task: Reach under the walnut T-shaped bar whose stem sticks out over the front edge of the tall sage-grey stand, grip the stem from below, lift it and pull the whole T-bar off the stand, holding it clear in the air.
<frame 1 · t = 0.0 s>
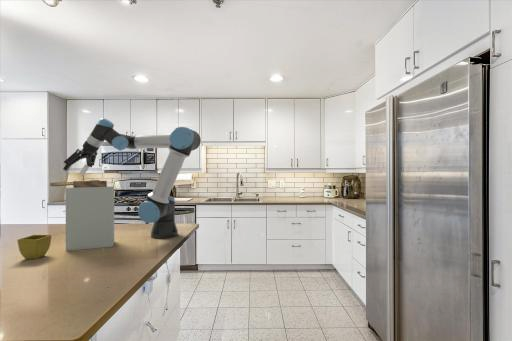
hand: (72, 174, 159), 36 cm above the countertop, tool tilted 35°, fingers open, 13 cm apart
stand: (91, 246, 143), on the countertop
T-bar: (94, 185, 153), point 30 cm above the countertop, touching stand
flower pot: (35, 257, 125), on the countertop
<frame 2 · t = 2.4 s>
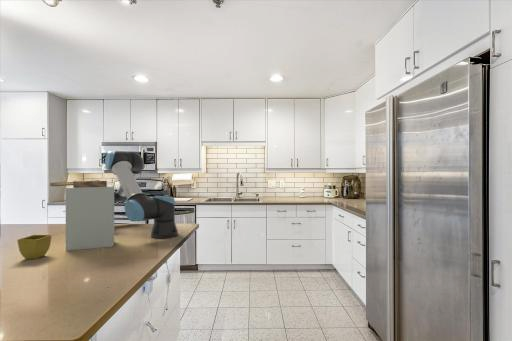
hand: (99, 190, 170), 26 cm above the countertop, tool pointing upward, fingers open, 13 cm apart
nothing on the countertop moved.
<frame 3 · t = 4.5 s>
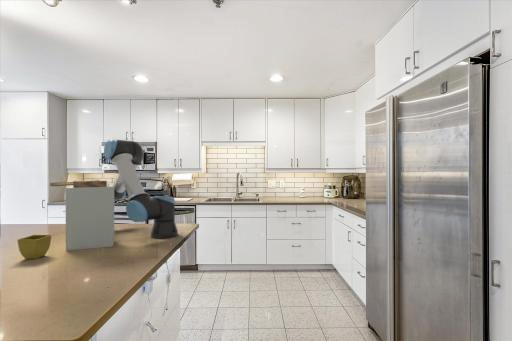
hand: (94, 186, 157), 29 cm above the countertop, tool pointing upward, fingers open, 13 cm apart
nothing on the countertop moved.
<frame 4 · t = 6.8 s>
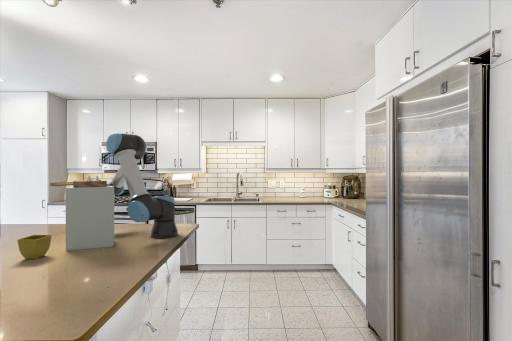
hand: (93, 178, 148), 34 cm above the countertop, tool pointing upward, fingers closed on T-bar, 3 cm apart
T-bar: (94, 185, 153), point 30 cm above the countertop, touching gripper, stand
everything else where it was.
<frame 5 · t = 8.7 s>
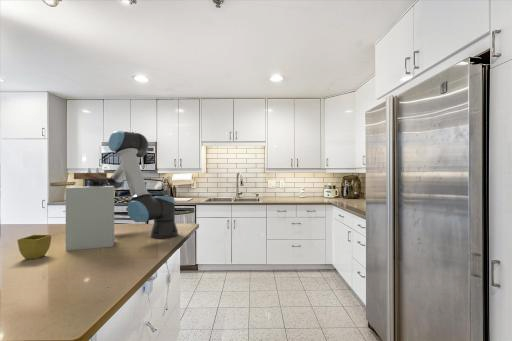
hand: (93, 170, 150), 38 cm above the countertop, tool pointing upward, fingers closed on T-bar, 3 cm apart
T-bar: (94, 178, 154), point 34 cm above the countertop, touching gripper
everything else where it was.
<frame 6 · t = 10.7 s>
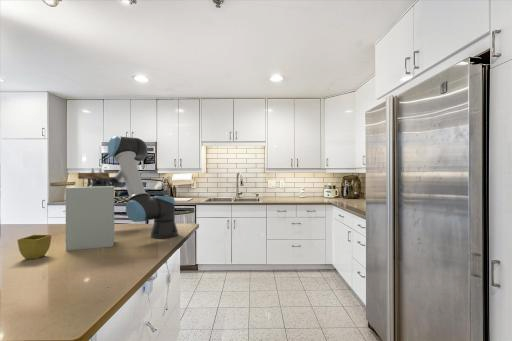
hand: (96, 170, 159), 38 cm above the countertop, tool pointing upward, fingers closed on T-bar, 3 cm apart
T-bar: (97, 177, 163), point 34 cm above the countertop, touching gripper
everything else where it was.
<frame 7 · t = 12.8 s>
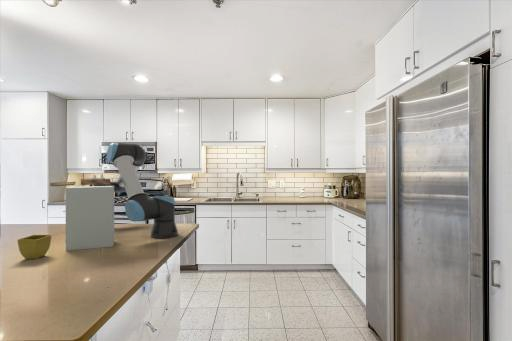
hand: (97, 176, 165), 35 cm above the countertop, tool pointing upward, fingers closed on T-bar, 3 cm apart
T-bar: (99, 183, 169), point 30 cm above the countertop, touching gripper
everything else where it was.
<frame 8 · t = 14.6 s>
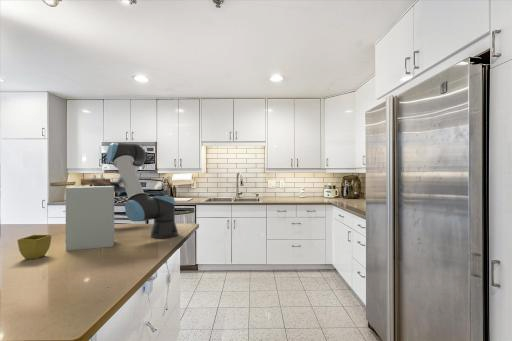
hand: (97, 176, 165), 35 cm above the countertop, tool pointing upward, fingers closed on T-bar, 3 cm apart
T-bar: (99, 183, 169), point 30 cm above the countertop, touching gripper
everything else where it was.
at the end: the gripper is holding T-bar; T-bar inside the target area (1.0 cm from its centre), point 30.5 cm above the countertop; T-bar touching gripper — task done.
